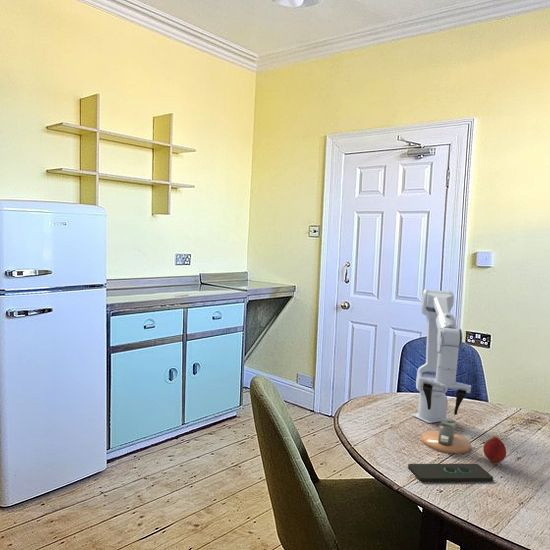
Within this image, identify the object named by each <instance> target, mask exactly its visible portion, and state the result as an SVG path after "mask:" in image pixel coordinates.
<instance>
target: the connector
mask: <svg viewBox="0 0 550 550" xmlns="http://www.w3.org/2000/svg"><path fill="white" fill-rule="evenodd" d="M456 424H457V422H456V420H454V419H453V418H452V419H451V418H448V417H446V418H443V419H442V420H441V421H440V423H439V427H438V431H439V436H438V443H439V444H441V445H444V446H452V444H453V440H454V434H456V433H455V431H456Z"/></svg>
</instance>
